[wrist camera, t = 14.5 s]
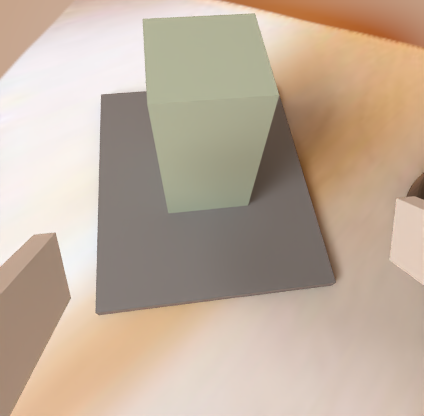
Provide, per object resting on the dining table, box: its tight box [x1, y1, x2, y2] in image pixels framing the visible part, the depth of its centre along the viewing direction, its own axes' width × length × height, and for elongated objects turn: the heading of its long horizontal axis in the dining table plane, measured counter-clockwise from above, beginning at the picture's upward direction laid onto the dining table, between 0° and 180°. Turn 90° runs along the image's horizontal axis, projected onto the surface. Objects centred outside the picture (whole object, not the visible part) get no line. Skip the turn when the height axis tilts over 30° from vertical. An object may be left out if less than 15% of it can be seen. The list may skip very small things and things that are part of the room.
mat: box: [96, 82, 336, 315], centre depth 26 cm, size 16×19×1 cm
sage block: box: [143, 14, 279, 213], centre depth 21 cm, size 6×6×11 cm
